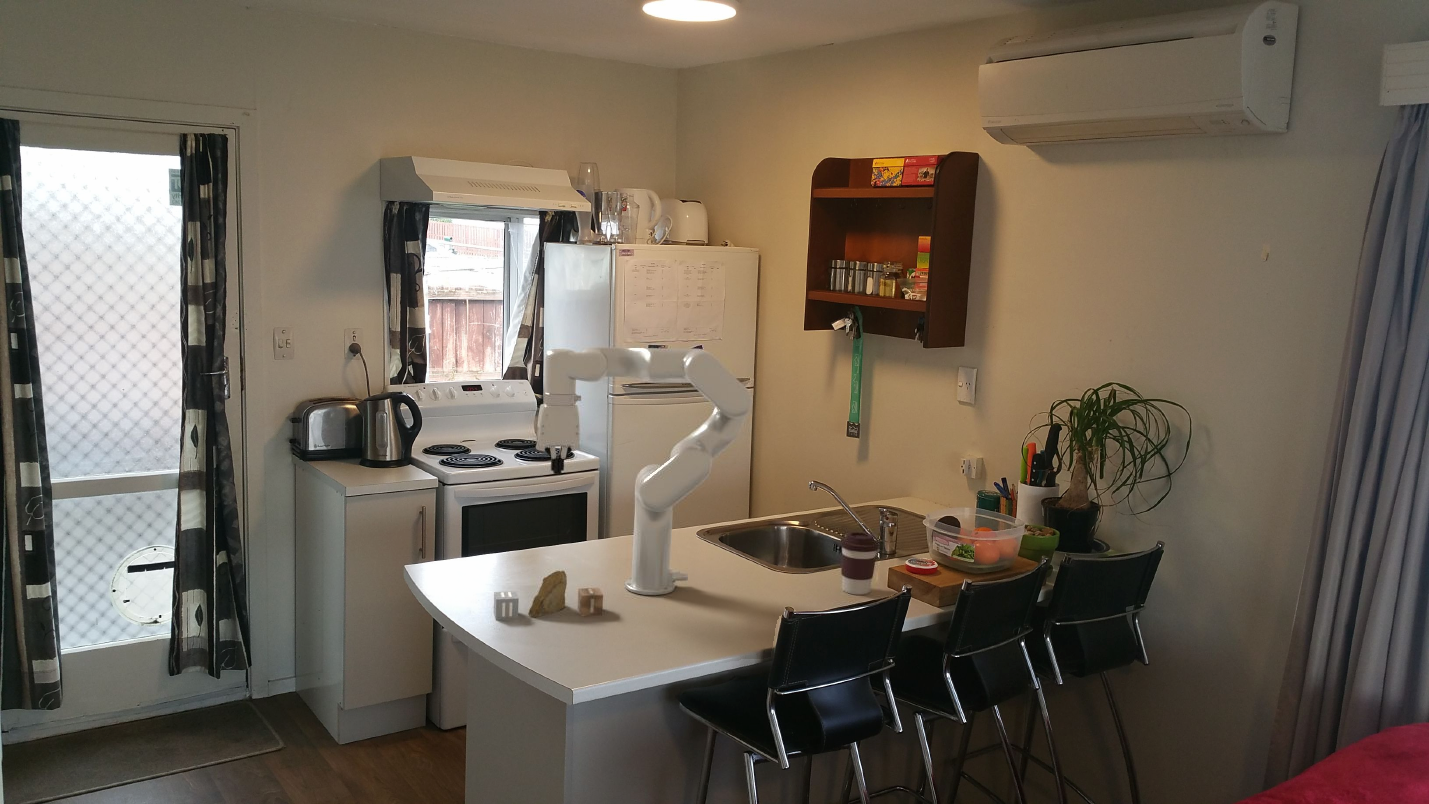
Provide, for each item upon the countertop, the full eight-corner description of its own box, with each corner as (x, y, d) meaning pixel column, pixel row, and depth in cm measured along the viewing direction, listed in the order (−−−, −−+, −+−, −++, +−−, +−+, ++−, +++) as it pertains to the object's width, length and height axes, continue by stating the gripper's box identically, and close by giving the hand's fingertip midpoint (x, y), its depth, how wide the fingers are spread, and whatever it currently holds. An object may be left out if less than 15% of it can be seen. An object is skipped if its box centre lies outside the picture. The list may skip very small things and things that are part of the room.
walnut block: (598, 608, 247) (599, 587, 246) (602, 615, 242) (603, 594, 241) (577, 608, 246) (578, 588, 245) (581, 616, 241) (582, 595, 240)
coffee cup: (882, 592, 271) (887, 536, 268) (860, 599, 263) (864, 542, 261) (851, 582, 277) (855, 527, 275) (829, 589, 270) (833, 533, 268)
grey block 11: (515, 611, 241) (516, 590, 241) (518, 619, 237) (518, 598, 236) (493, 612, 240) (494, 591, 239) (495, 620, 235) (496, 599, 234)
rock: (533, 613, 234) (575, 602, 239) (523, 578, 237) (565, 568, 242) (525, 627, 243) (565, 616, 248) (515, 592, 246) (555, 583, 251)
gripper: (587, 398, 259) (584, 469, 262) (526, 397, 254) (524, 470, 257) (592, 402, 252) (589, 476, 254) (530, 402, 247) (528, 477, 250)
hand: (557, 473), depth 256 cm, fingers closed
